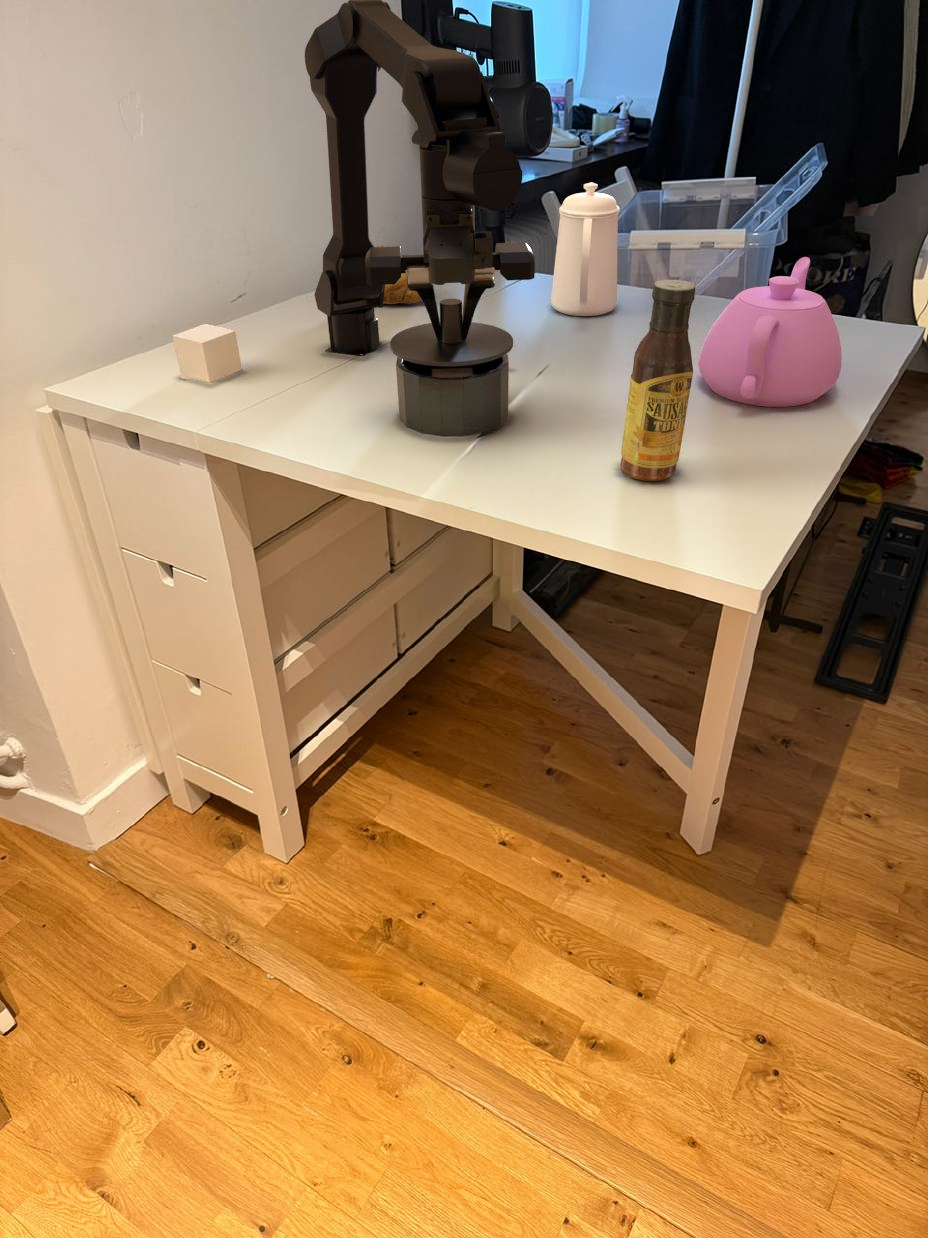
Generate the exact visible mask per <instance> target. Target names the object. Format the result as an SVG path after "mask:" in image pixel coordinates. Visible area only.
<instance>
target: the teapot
mask: <svg viewBox="0 0 928 1238" xmlns="http://www.w3.org/2000/svg"><path fill="white" fill-rule="evenodd" d="M810 265H811V259H810V257H807V256H803V257H800V258H799V259H798V260H797V261H796V263H795V264H794V266H793V268H792V272H791V274H790V276H785V275H784V276H783V275H779V276H773V277H771V278H769V279H768V285H767V286H764V285H763V286H756V287H750V288H747V289H744V290H742V291H740V292H739V293H738V294H736V296H734V298H733V299H732V300H731V301H730V302H729V303H728V305H727V306H726V307H725V308H724V310H722V312H721V314H719V316H718V317H717V319H716V320H715V322H714V323H713V324H712V326H711V328H710V329H709V331H708V333H707V335H706V337H705V339H704V341H703V344H702V347H701V350H700V353H699V358H698V363H697V365H698V369H699V373H700V375H701V376H702V378H703V380H704V382H705V383H706V384H707V385H708V387H709V388H710V389H711V390H712V391H713V392H714V393H716V394H717V395H719V396H720V397H723V398H725V399H726V400H727V399H728V400H731V401H733V402H736V403H741V404H745V405H750V406H758V407H766V408H767V407H768V408H788V407H797V406H802V405H806V404H809V403H812V402H815V401H816V400H818V399H819V398H820V397H821V396H823V395H825V394H826V393H827V392H828V391H829V390H830V389H831V388H833V387H834V386H835V384H836V383H837V381H838V380H839V378H840V374H841V369H842V359H843V358H842V344H841V339H840V333H839V331H838V327H837V324H836V322H835V319H834V316H833V313H832V311H831V309H830V307H829V305H828V303H827V301H826V299H825V298H823V296H822V295H820V294H818V293H816V292H813V291H810V290H808V289H806V280H807V275H808V271H809V268H810Z"/></svg>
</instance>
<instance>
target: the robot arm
mask: <svg viewBox="0 0 928 1238" xmlns="http://www.w3.org/2000/svg"><path fill="white" fill-rule="evenodd" d="M338 9H339V10H338V11H337V13H336V14H334V15H333V16H331V17H329V18H328V19H327V20H325V21H324V22H322V23H321V24H320V25H318V26H317V27H315V29H314V30H313V32H312V33H311V35H310V38H309V40H308V42H307V43H306V45H305V49H304V63H305V68H306V72H307V75H308V76H309V82H310V89H311V92H312V94H313V95H314V97H315V99H316V101H317V102H318V104H319V105H320V107H321V109H322V111H323V112H324V115H325V123H326V139H327V155H328V171H329V172H328V173H329V186H330V202H331V203H330V204H331V220H332V236H331V238H330V240H329V242H328V244H327V245H326V248H325V250H324V252H323V254H322V272H321V273H320V276H319V279H318V283H317V285H316V288H315V291H314V299H315V303H316V309H317V310H318V311H319V312H321V313H323V314H324V315H326V319H327V326H328V327H327V328H328V337H329V343H330V344H329V346H330V347H328V348H326V349H325V350H324V351H325V353H332V354H340V355H346V356H347V355H348V356H353V357H365V356H366V355H368V354H369V353H372V352H373V351H375V350H377V349H378V348H379V347H380V346H381V345H382V344H383V342H382V341H380V331H379V320H378V318H377V317H376V315H375V314H376V313H375V309H376V308H377V309H378V308H384V303H383V301H384V291H385V285H389V284H395V283H396V282H397V281H398V280H399V279H400V278H401V273H406V277H407V289H408V290H409V291H416V292H417V293H418V295H419V296H420V298H421V299H422V301H421V302H422V303H423V305H424V307H425V309H426V312H427V315H428V318H429V321H430V323H432V326H433V329H434V332H435V334H436V337H437V340H438V341H441V328H440V313H439V308H438V302H437V296H436V289H435V285H436V286H443V285H446V284H461V285H464V294H463V302H462V337H463V340H466V338H467V335H468V332H469V328H470V325H471V322H473V318H474V315H475V311H476V309H477V306H478V304H479V302H480V300H481V297H482V296H483V295H484V293H485V291H486V290H487V289H493V288H495V286H496V282H495V278H494V275H496V273H495V272H496V271H499V274H500V275H501V276H502V277H503V278H504V279H505V280H506V281H507V282H509V281H530V280H534V279H535V275H536V274H535V273H536V270H535V269H536V261H535V260H536V258H535V255H534V252H533V251H532V249H531V247H530V246H529V245H528V243H527V242H525V241H524V242H496V244H495V251H494V244H493V243H494V238H493V231H492V230H491V231H475V229H476V227H475V207H478V208H481V209H484V210H488V211H490V212H501V211H502V210H506V209H507V208H509V206H511V205H512V204H513V203H514V202H515V200H516V199H517V197H518V195H519V193H520V190H521V187H522V184H523V169H522V168H521V163H520V161H519V159H518V157H517V155H516V154H515V152H513V150H511V149H509V148H508V147H506V133H505V132H502V128H501V125H500V122H499V118H500V115H499V112H498V111H497V108H496V106H495V104H494V101H493V99H492V97H491V94H490V91H489V88H488V85H487V82H486V79H485V76H484V74H483V72H482V68H481V66H480V64H479V63H478V61H477V60H476V58H474V57H473V56H471V55H469V54H466V53H464V52H461V51H459V50H455V49H449V48H443V47H438V46H435V45H433V44H431V43H430V42H429V41H428V40H427V39H425V38H424V37H423V36H422V35H421V34H419V33H418V32H417V31H416V30H415V29H413V28H412V27H411V26H409V24H407V22H405V21H404V20H402V19H401V17H399V16H398V15H397V14H395V13H394V12H393V11H392V9H391V7H390V5H389V3H388V2H387V1H383V0H348V1H346V2H343V4H341V6H340V7H339V8H338ZM381 69H383V71H385V72H386V73H387V74H388V75H389V76H390V77H391V78H392V79H393V80H395V82H397V84H399V86H400V87H401V89H402V93H401V102H402V105H403V106H404V107H405V108H406V110H407V111H408V113H409V114H410V115H411V117H412V118H413V120H414V122H415V123H416V126H417V127H418V128H417V130H415V131H414V133H413V135H412V136H411V142H412V144H414V145H418V146H419V167H420V193H421V195H420V196H421V218H422V219H421V221H422V222H421V223H422V249H423V254H406V255H405V254H403V255H402V249H401V246H400V245H399V246H398V245H397V246H396V245H395V246H384V247H377V246H375V245H374V244H373V242H372V240H371V239H370V234H369V205H368V204H369V203H368V201H369V200H368V176H367V175H368V173H367V146H366V122H365V121H366V115H367V114H368V111H369V110H370V108H371V106H372V104H373V102H374V99H375V98H376V95H377V93H378V73H379V72H380V71H381Z"/></svg>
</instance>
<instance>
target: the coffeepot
mask: <svg viewBox="0 0 928 1238" xmlns="http://www.w3.org/2000/svg"><path fill="white" fill-rule="evenodd" d="M583 189H584V190H585V192H579V193H574V194H571V195H569V196H567V197H566V198H565V199H564V200H563V202H562V205H561V206H560V207H559V208H558V210H559V211H558V212H559V223H558V233H557V241H556V250H555V259H554V268H553V276H552V277H553V278H552V286H551V293H550V294H551V295H550V304H551V307H552V308H553V309H554V310H555V311H557V312H559V313H561V314H564V315H568V316H574V317H595V316H602V315H605V314H607V313H610V312H612V311H613V310H614V309H615V308H616V306H617V303H618V244H619V243H618V236H619V233H618V231H619V226H618V225H619V222H618V221H619V214H620V207H619V206H618V205H617V201H616V199H615V198H614V197H613V196H611V195H609V194H606V193H601V192H595V191H596V190H597V189H598V184H597V183H595V182H591V181H590V182H588V183H584V184H583Z"/></svg>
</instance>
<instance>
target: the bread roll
mask: <svg viewBox="0 0 928 1238" xmlns="http://www.w3.org/2000/svg"><path fill="white" fill-rule="evenodd" d="M376 247H385V245H382V244H381V245H378V246H376ZM420 302H423V301H422V299H421V298H420V296H419V295H418V293H417V292H416V291H409V290H408V289H407V277H406V273H401V278H400V279H399V280H398V281H397V282H396V283H395V284H389V285H385V291H384V301H383V305H397V304H399V303H400V304H407V305H411V304H416V303H420Z"/></svg>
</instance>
